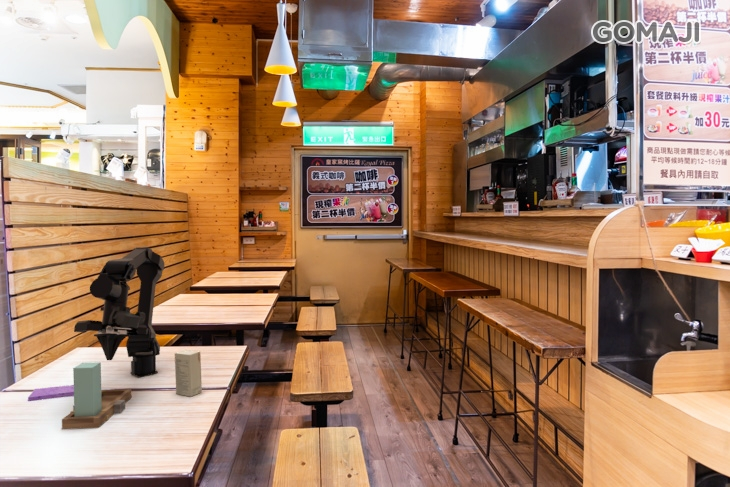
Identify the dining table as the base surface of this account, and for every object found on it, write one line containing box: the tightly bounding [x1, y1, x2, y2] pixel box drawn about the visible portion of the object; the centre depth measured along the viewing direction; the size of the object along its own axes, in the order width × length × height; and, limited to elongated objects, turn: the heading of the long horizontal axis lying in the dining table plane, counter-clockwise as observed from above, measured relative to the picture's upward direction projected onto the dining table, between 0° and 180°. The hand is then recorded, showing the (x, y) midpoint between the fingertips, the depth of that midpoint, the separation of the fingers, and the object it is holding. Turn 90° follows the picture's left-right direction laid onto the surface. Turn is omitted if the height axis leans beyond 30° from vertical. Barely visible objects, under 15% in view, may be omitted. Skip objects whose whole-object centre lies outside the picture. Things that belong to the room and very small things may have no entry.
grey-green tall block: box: [73, 361, 102, 417], centre depth 116 cm, size 4×4×13 cm
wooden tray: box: [61, 388, 133, 430], centre depth 122 cm, size 20×12×3 cm, turn 6°
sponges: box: [27, 384, 74, 402], centre depth 135 cm, size 7×13×2 cm, turn 111°
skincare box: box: [174, 349, 203, 397], centre depth 135 cm, size 6×4×12 cm
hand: (109, 360), depth 128 cm, fingers closed
